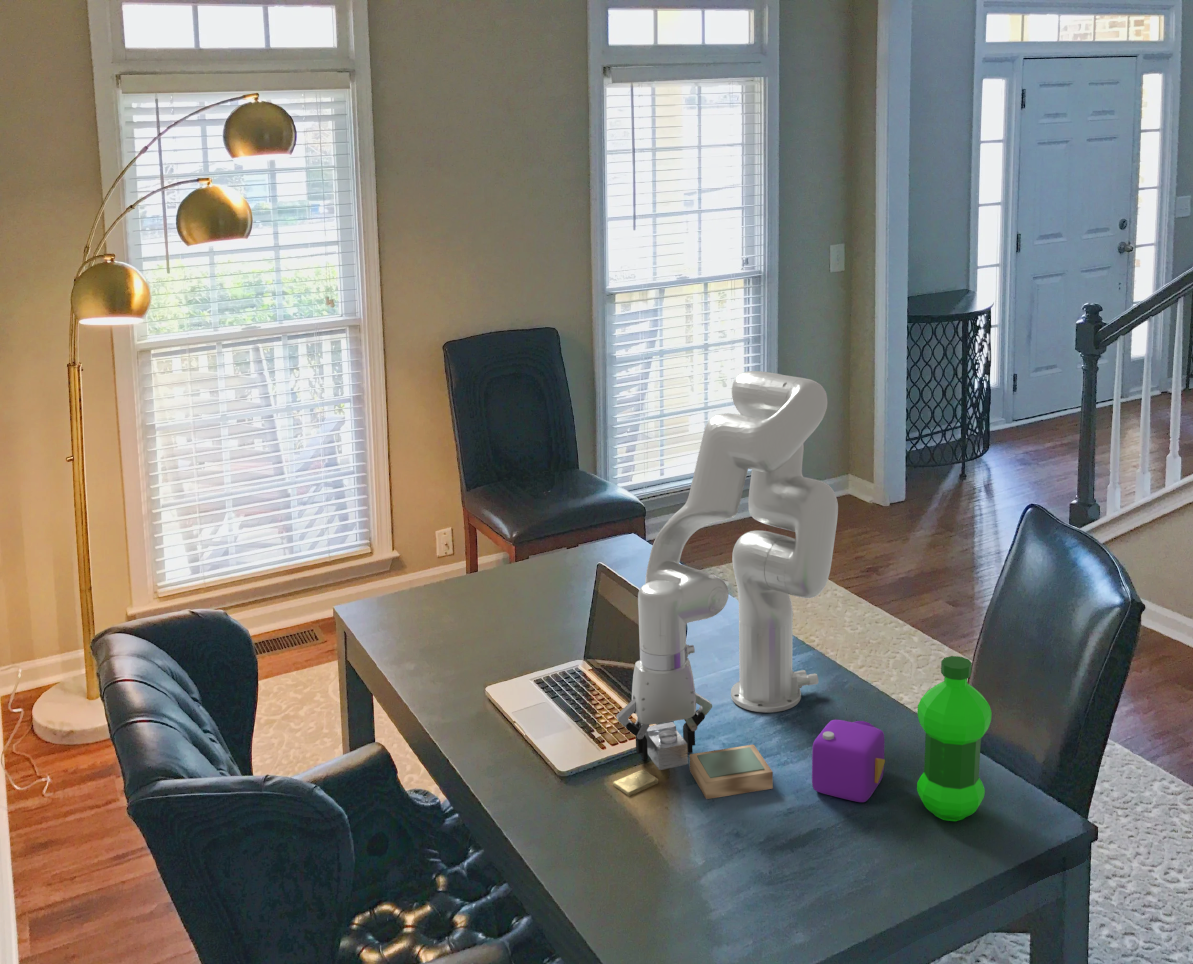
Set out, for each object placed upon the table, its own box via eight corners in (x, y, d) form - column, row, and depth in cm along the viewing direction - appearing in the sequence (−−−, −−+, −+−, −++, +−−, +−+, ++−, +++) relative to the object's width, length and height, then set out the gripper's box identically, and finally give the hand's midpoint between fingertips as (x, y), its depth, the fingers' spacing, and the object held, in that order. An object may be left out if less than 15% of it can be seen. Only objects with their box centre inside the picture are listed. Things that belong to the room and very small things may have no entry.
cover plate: (643, 775, 208) (642, 769, 208) (658, 785, 205) (657, 779, 205) (613, 788, 205) (613, 782, 205) (628, 798, 202) (628, 792, 202)
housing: (645, 750, 215) (644, 724, 214) (672, 745, 217) (672, 719, 215) (659, 770, 209) (658, 743, 207) (687, 765, 210) (687, 738, 209)
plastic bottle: (941, 786, 201) (947, 641, 193) (998, 813, 193) (1008, 663, 185) (900, 810, 195) (905, 661, 187) (958, 839, 187) (966, 685, 179)
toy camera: (889, 764, 208) (891, 709, 204) (879, 809, 195) (880, 751, 192) (823, 756, 211) (824, 701, 208) (808, 799, 199) (809, 742, 196)
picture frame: (753, 760, 210) (753, 743, 209) (772, 788, 202) (772, 770, 201) (689, 770, 208) (689, 753, 207) (706, 799, 200) (705, 781, 199)
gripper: (707, 639, 213) (708, 734, 218) (605, 653, 209) (609, 749, 215) (721, 658, 206) (722, 756, 211) (616, 672, 202) (620, 771, 208)
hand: (665, 752), depth 213 cm, fingers open, 7 cm apart
